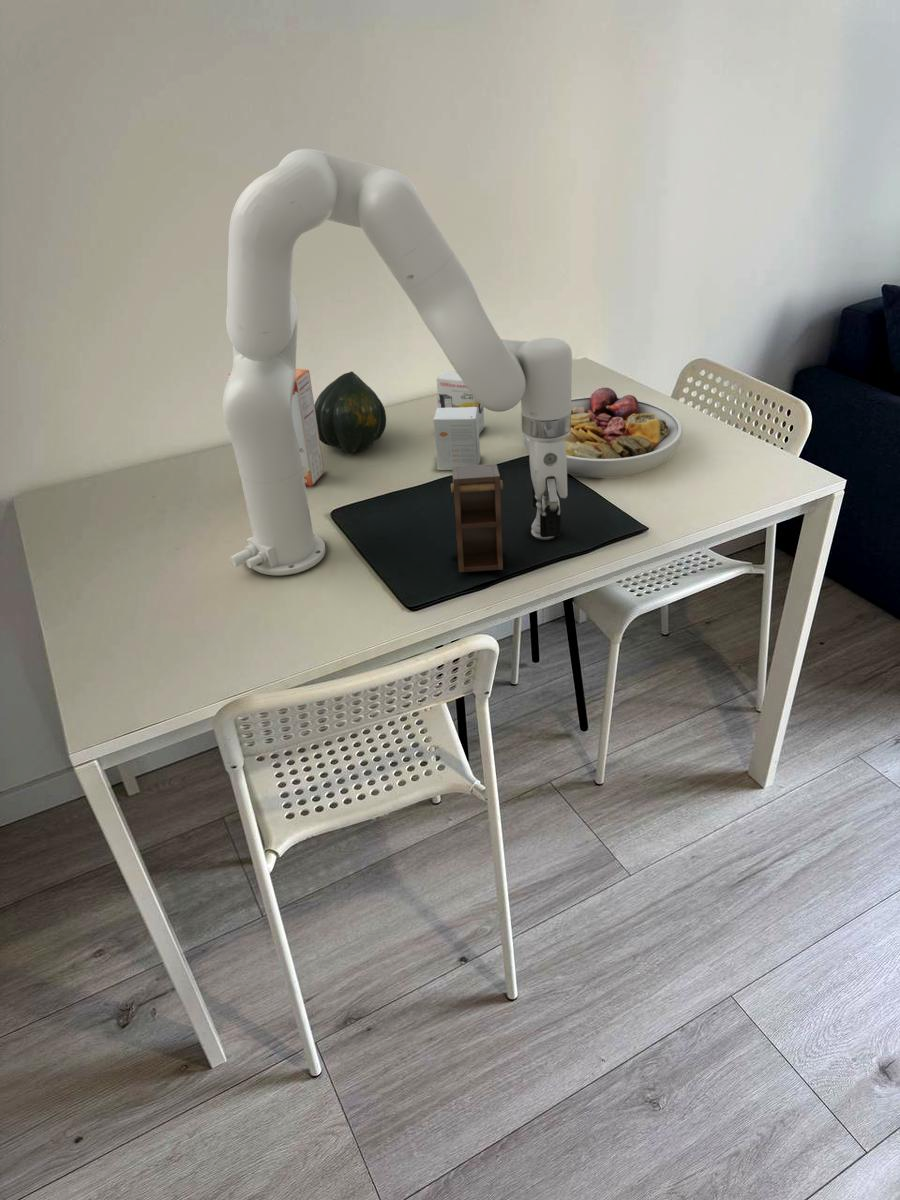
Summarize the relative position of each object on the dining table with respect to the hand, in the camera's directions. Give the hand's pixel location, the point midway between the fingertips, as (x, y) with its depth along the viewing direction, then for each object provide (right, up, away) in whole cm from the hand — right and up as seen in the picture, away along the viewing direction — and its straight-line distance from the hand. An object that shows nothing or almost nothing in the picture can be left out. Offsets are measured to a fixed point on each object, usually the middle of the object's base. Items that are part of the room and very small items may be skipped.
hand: (546, 520), depth 142 cm
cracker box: (-47, +10, +24) cm, 54 cm away
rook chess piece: (0, -2, +2) cm, 3 cm away
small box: (-14, +13, +25) cm, 31 cm away
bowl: (+13, +16, +27) cm, 34 cm away
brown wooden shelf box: (-12, +1, -7) cm, 13 cm away
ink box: (-13, +22, +38) cm, 45 cm away
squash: (-36, +19, +35) cm, 53 cm away
